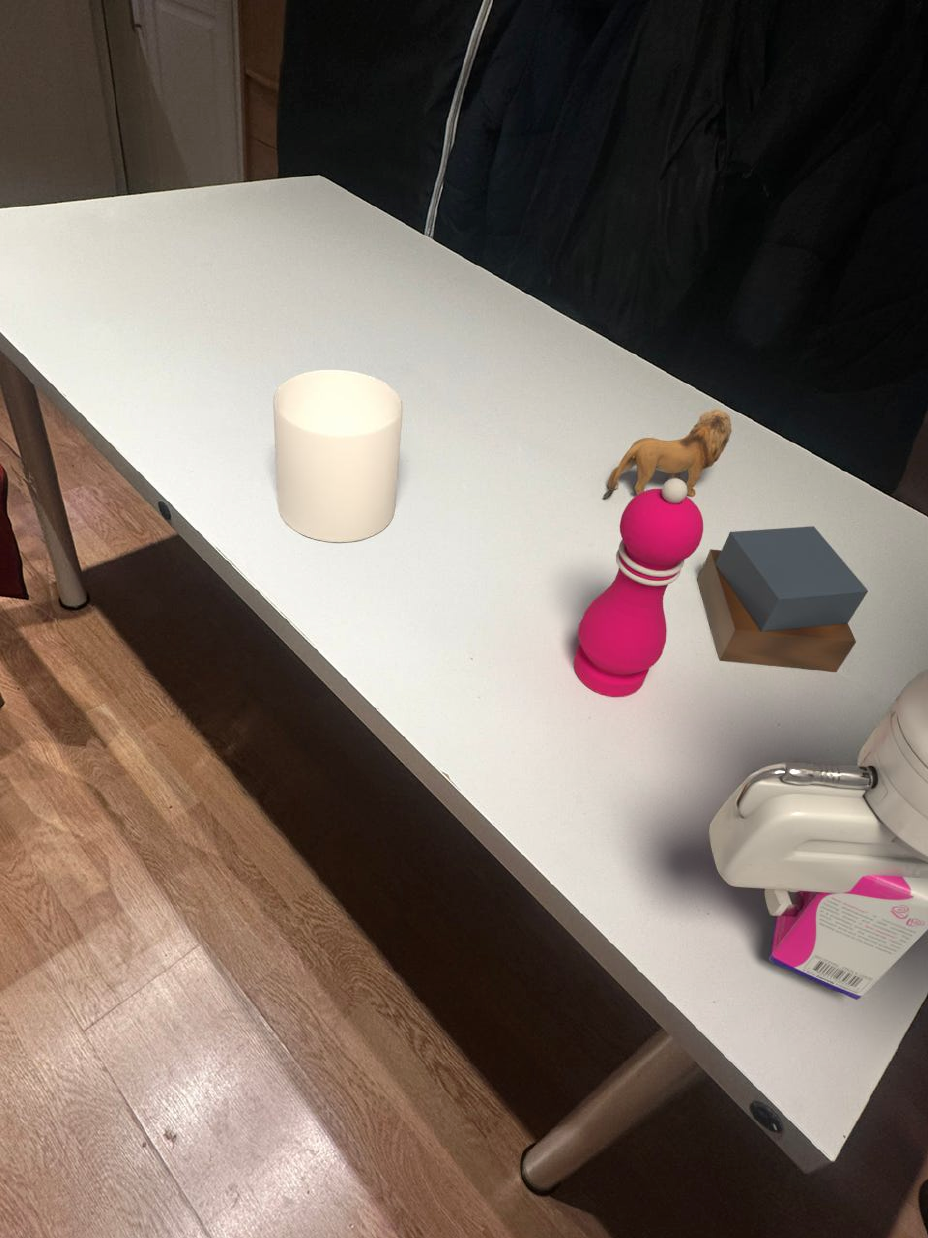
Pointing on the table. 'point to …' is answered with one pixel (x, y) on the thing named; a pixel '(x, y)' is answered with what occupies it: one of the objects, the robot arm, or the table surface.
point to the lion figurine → (677, 453)
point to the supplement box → (852, 932)
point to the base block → (773, 648)
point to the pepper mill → (638, 591)
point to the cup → (337, 454)
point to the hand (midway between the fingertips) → (844, 909)
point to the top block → (789, 578)
